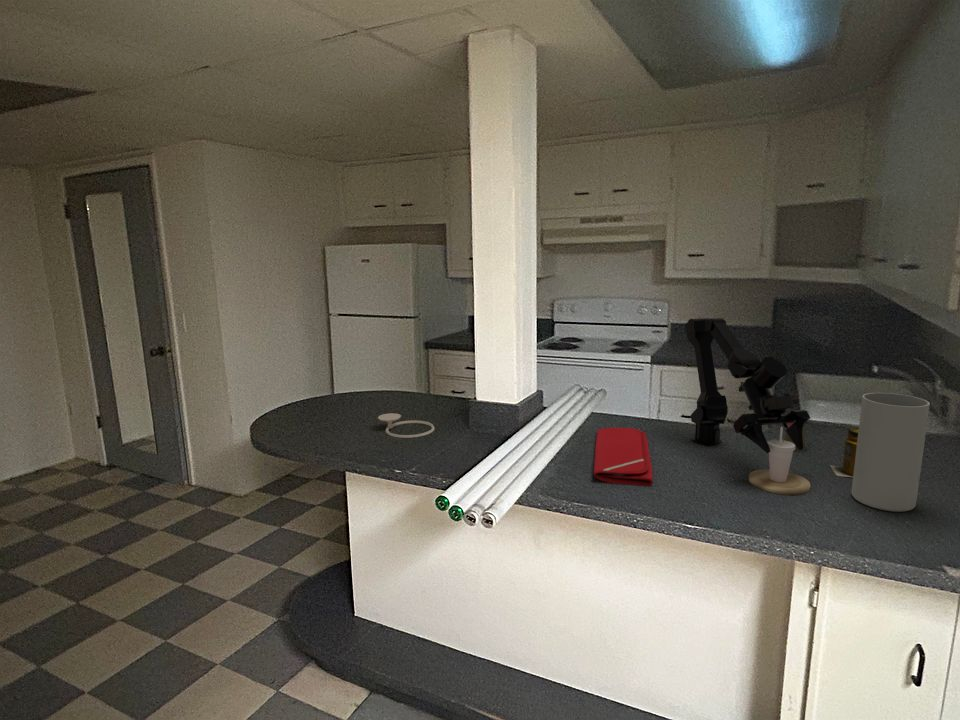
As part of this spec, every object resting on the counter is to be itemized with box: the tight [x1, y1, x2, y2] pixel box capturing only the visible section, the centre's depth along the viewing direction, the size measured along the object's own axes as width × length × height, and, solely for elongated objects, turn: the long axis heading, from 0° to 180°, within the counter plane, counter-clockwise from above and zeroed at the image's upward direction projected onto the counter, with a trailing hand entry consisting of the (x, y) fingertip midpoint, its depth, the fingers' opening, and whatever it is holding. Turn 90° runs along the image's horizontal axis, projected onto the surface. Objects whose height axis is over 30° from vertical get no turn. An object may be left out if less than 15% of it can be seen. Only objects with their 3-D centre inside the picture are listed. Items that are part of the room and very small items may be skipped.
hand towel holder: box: [377, 413, 436, 439], centre depth 195 cm, size 17×4×20 cm
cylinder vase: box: [851, 392, 931, 513], centre depth 132 cm, size 12×12×25 cm
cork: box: [783, 411, 806, 452], centre depth 170 cm, size 6×6×11 cm
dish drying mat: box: [593, 427, 654, 487], centre depth 166 cm, size 16×41×4 cm, turn 167°
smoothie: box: [767, 425, 795, 482], centre depth 144 cm, size 6×6×14 cm
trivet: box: [748, 468, 811, 496], centre depth 145 cm, size 14×14×1 cm
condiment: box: [829, 427, 859, 478], centre depth 150 cm, size 7×8×12 cm
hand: (785, 451), depth 142 cm, fingers open, 9 cm apart
